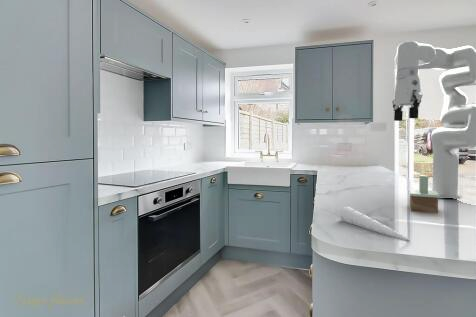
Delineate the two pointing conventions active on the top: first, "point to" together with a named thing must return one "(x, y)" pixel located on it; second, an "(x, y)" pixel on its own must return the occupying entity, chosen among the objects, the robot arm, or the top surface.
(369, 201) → the top surface
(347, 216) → the unicorn horn
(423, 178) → the mint green stepped block
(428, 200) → the box
